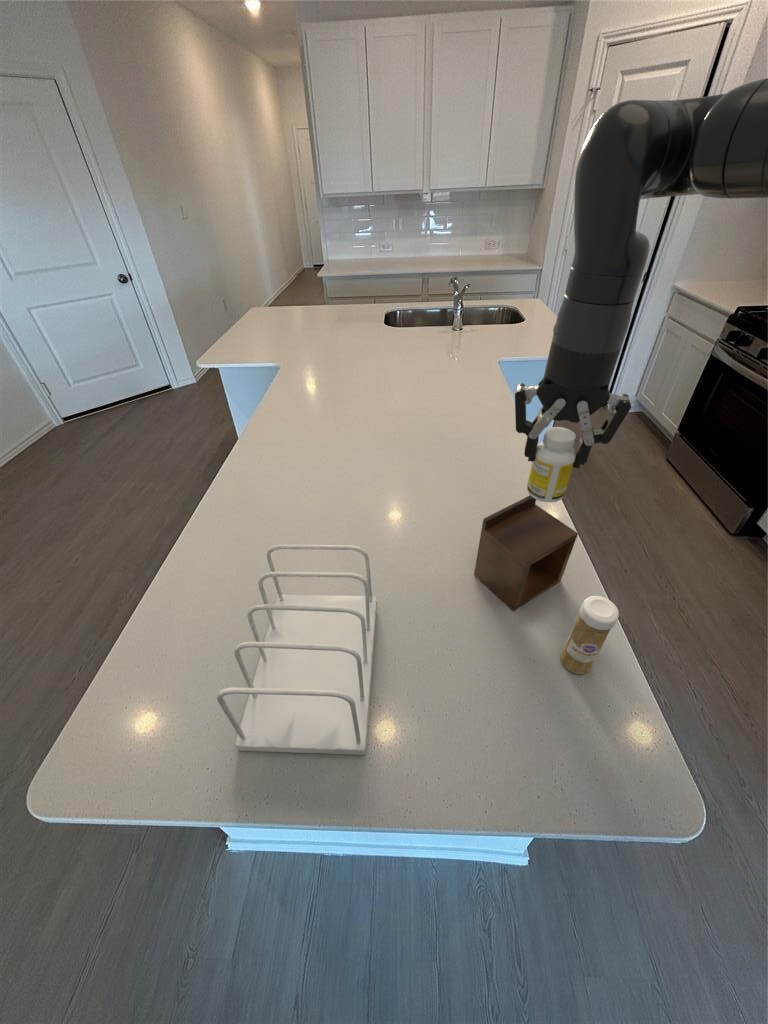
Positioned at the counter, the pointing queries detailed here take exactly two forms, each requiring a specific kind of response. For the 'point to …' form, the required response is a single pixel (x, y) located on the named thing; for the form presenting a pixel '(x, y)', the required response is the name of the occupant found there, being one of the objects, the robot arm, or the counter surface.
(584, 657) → the sprinkles bottle
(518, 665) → the counter surface
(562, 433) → the supplement bottle
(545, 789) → the counter surface
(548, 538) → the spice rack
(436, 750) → the counter surface
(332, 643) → the file sorter
